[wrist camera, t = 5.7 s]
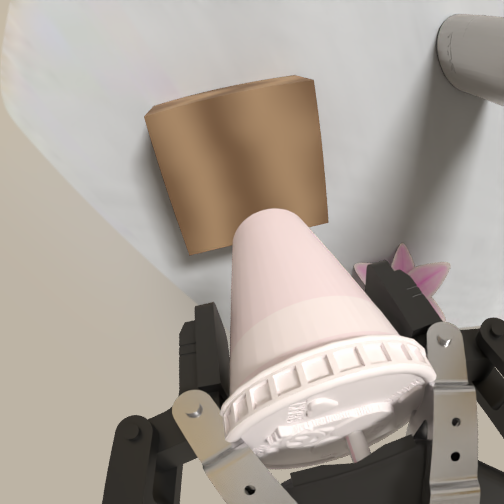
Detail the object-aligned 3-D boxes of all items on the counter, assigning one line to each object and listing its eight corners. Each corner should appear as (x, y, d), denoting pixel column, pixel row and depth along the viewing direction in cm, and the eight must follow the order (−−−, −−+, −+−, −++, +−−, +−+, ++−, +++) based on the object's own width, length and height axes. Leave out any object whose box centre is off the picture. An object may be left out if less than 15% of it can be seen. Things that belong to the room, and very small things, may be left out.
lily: (435, 239, 38) (464, 254, 29) (425, 320, 41) (447, 352, 32) (351, 237, 41) (361, 252, 31) (346, 321, 43) (352, 355, 34)
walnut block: (294, 75, 24) (313, 80, 20) (310, 197, 31) (328, 222, 27) (153, 105, 24) (144, 116, 20) (190, 225, 31) (189, 255, 27)
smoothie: (299, 301, 18) (386, 549, 7) (188, 280, 16) (212, 592, 5) (355, 204, 15) (539, 477, 4) (229, 161, 13) (354, 611, 2)
